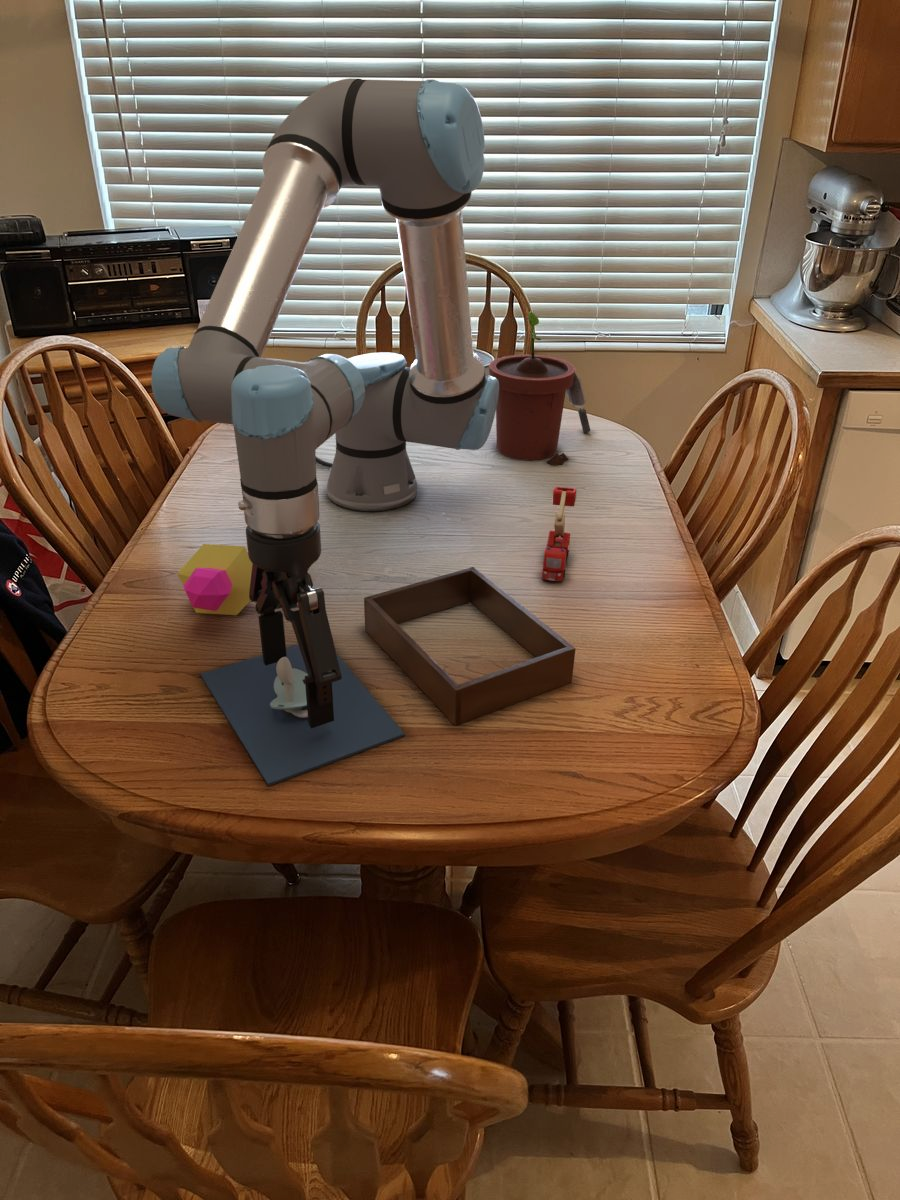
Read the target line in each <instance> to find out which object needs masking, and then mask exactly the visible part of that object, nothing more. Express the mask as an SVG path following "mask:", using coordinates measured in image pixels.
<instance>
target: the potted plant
mask: <svg viewBox="0 0 900 1200" xmlns="http://www.w3.org/2000/svg"><path fill="white" fill-rule="evenodd" d="M527 318H528V323H529V326H530V331H531V332H530V333H531V349H530V350H531V351H530V353H531V354H512V355H505V356H501V357H498V358H495V359H493V360H492V361H490V362H489V365H488V371H489V372H488V373H489V375H491V376H492V377H495V378H496V379H497V380H498V382H499V394H498V402H497V407H496V412H495V426H496V427H495V430H496V431H495V432H496V450H497V451H498V453H499V454H501V455H503V456H504V457H508V458H510V459H516V460H521V461H540V460H545V459H548V458H549V459H548V460H547V461H546V464H550V465H552V466H559V465H560V466H561V465H564V462H566V461H567V460H569V457H568V456H567V455H566V454H565V453H564V452H562V453H560V454H559V453H557V451H558V445H559V440H560V433H561V426H562V420H563V419H562V418H563V413H564V405H565V399H566V396H567V399H568V403H570V404H571V405H572V407H573V408H574V409H578V411H577V413H578V417H579V421H580V424H581V429H582V433H584V434H588V433H590V432H591V426H590V422H589V419H588V413H587V410H586V408H583V406H585V405H586V401H587V399H586V396H585V392H584V389H583V384H582V380H581V378H580V376H579V375H578V373H577V372H576V367H575V365H574V364H573V363H572V362H569V361H567V360H565V359H562V358H559V357H555V356H550V355H542V354H535V340H537V341H542V338H541V337H538V336H537V333H536V330H535V329H534V327H536V326H537V325H539V324H540V319H539V318H538V316H537V315H536V314H535V313H533V311H532V310H529V312H528V314H527ZM550 457H551V458H550Z"/></svg>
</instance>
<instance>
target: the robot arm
mask: <svg viewBox="0 0 900 1200" xmlns="http://www.w3.org/2000/svg"><path fill="white" fill-rule="evenodd" d="M485 142H486V141H485V132H484V125H483V120H482V116H481V112H480V109H479V106H478V103H477V101H476V99H475V98H474V96H473V94H472V93H471V92H470V91H469V90H468V88H466V86H464V85H462V84H459V83H454V82H443V81H439V80H436V79H426V80H404V79H403V80H400V79H399V80H398V79H395V80H394V79H362V78H343V79H339V80H336V81H332V82H330V83H328V84H326V85H324V86H322V87H320V88H319V89H317V90H316V91H314V92H313V93H311V94H310V95H308V96H307V97H305V99H303V100H302V101H301V102H300V103H299V104H298V105H296V107H295V108H294V109H293V110H292V111H291V112H290V113H289V114H288V115H287V116H286V118H285V119H284V120H283V121H282V122H281V123H280V125H279V126H278V128H277V129H276V131H275V132H274V134H273V135H272V137H271V139H270V141H269V143H268V146H267V148H266V150H265V152H264V153H263V157H262V160H261V161H262V162H261V166H262V171H263V175H264V177H263V179H262V182H261V184H260V186H259V188H258V191H257V193H256V195H255V197H254V200H253V201H252V204H251V206H250V209H249V211H248V213H247V216H246V218H245V220H244V222H243V224H242V226H241V229H240V231H239V233H238V236H237V238H236V240H235V243H234V245H233V247H232V249H231V252H230V254H229V255H228V258H227V261H226V263H225V265H224V267H223V269H222V272H221V273H220V276H219V279H218V281H217V283H216V286H215V287H214V290H213V292H212V294H211V297H210V298H209V300H208V303H207V306H206V308H205V309H204V313H203V315H202V317H201V319H200V321H199V323H198V326H197V328H196V330H195V332H194V334H193V336H192V339H191V341H190V342H189V344H188V347H186V346H181V345H180V346H178V347H167V348H165V349H164V351H163V352H160V353H158V355H157V357H156V358H155V360H154V363H153V365H152V370H151V376H150V378H151V379H150V380H151V390H152V396H153V398H154V400H155V402H156V403H157V405H158V407H159V408H160V409H161V410H162V411H163V412H164V413H166V414H167V415H169V416H173V417H177V418H181V419H186V420H190V421H192V422H193V421H194V422H198V423H203V422H207V423H215V424H225V425H231V426H233V431H234V439H235V446H236V454H237V461H238V468H239V469H238V470H239V476H240V479H239V480H240V488H241V494H242V500H240V501H238V503H237V506H238V510H240V511H243V513H244V515H243V516H244V522H245V524H246V528H245V538H246V547H247V552H248V556H249V559H250V561H251V562H252V563H253V564H252V573H251V582H250V590H249V599H250V602H251V603H254V602H255V604H254V609H255V610H254V611H255V612H256V613H257V615H259V616H258V626H259V638H260V645H261V655H263V663H264V664H265V666H266V665H270V664H273V663H276V662H278V661H279V660H280V659H281V658H283V657H287V655H286V648H287V645H286V635H285V634H286V633H285V623H284V622H285V621H284V619H285V620H286V621H287V622H290V623H291V626H292V630H293V633H294V634H295V638H296V642H297V645H299V648H300V651H301V654H302V657H303V660H304V664H305V667H306V670H307V673H308V675H307V676H305V679H303V683H304V684H305V687H306V699H307V712H308V724H309V726H310V727H311V729H312V728H314V727H317V726H320V725H323V724H326V723H329V722H332V721H334V710H333V693H332V682H335V681H338V680H341V678H342V677H341V672H340V668H339V664H338V659H337V655H338V654H337V651H336V647H335V643H334V639H333V634H332V630H331V626H330V623H329V618H328V612H327V609H326V608H327V607H326V599H325V591H324V589H323V588H322V587H317V588H316V587H315V588H314V582H313V579H312V576H311V574H310V573H309V572H308V571H309V570H310V568H311V567H312V566H313V565H314V564H315V563H316V562H317V561H318V560H319V559H320V557H321V555H322V536H321V523H320V522H319V521H320V516H321V512H320V511H321V510H320V495H319V482H318V477H317V464H319V465H321V466H324V467H327V468H330V471H329V474H328V478H327V485H326V487H327V497H328V498H329V500H330V501H331V502H332V503H334V504H336V505H337V506H339V507H342V508H345V509H349V510H353V511H360V512H361V511H362V512H380V511H381V512H382V511H389V510H394V509H397V508H400V507H403V506H405V505H408V504H409V503H411V502H412V501H413V500H414V499H415V498H416V497H417V495H418V483H417V477H416V475H415V471H414V469H413V466H412V463H411V460H410V457H409V454H408V450H407V443H414V444H421V445H426V446H432V447H433V446H434V447H438V448H439V447H440V448H447V449H452V450H456V451H459V450H468V451H470V450H471V451H477V450H479V449H481V448H483V447H484V446H485V444H486V442H487V441H488V439H489V436H490V434H491V432H492V431H491V430H492V427H493V424H494V421H495V417H496V407H497V402H498V394H499V382H498V380H497V379H496V378H495V377H492V376H491V375H490V374H489V375H486V366H485V363H484V360H483V359H482V358H481V357H480V356H479V354H477V353H475V352H474V343H473V331H472V330H473V329H472V320H471V319H472V317H471V308H470V307H471V306H470V295H469V285H468V284H469V283H468V273H467V272H468V271H467V261H466V259H467V258H466V248H465V237H464V223H463V213H462V210H463V209H464V208H466V206H467V205H469V203H470V201H471V199H472V195H473V194H472V193H473V191H476V190H477V188H478V187H479V186H480V184H481V182H482V179H483V176H484V170H485V156H484V155H485V154H484V152H485V151H486V143H485ZM353 185H358V186H365V187H367V186H368V187H377V188H378V189H379V193H380V200H381V204H382V208H383V211H385V212H386V213H387V214H388V215H389V216H391V217H393V219H395V220H396V228H397V235H398V241H399V250H400V255H401V263H402V269H403V276H404V282H405V290H406V297H407V303H408V304H407V305H408V310H409V317H410V325H411V331H412V337H413V345H414V351H415V359H414V361H413V363H411V365H410V367H408V366H407V363H408V361H406V358H405V356H404V355H402V354H401V353H400V354H399V353H397V352H388V351H387V352H386V351H384V352H383V351H381V352H370V353H364V354H360V355H356V356H352V357H349V358H346V357H344V356H342V355H339V354H335V353H325V354H322V355H316V356H314V357H313V356H312V357H311V358H310V359H309V360H307V361H297V360H288V359H280V358H272V357H271V358H269V357H263V354H264V352H265V350H266V347H267V345H268V343H269V340H270V337H271V335H272V333H273V330H274V327H275V325H276V324H277V320H278V318H279V316H280V314H281V311H282V308H283V306H284V303H285V301H286V298H287V296H288V294H289V291H290V289H291V286H292V284H293V281H294V279H295V277H296V274H297V273H298V270H299V267H300V265H301V262H302V260H303V258H304V255H305V252H306V250H307V248H308V245H309V243H310V240H311V238H312V235H313V233H314V230H315V228H316V226H317V224H318V220H319V218H320V216H321V213H322V211H323V209H325V208H327V207H329V206H331V205H332V204H333V203H334V202H335V201H336V199H337V197H338V195H339V192H340V190H341V189H342V188H345V187H346V186H353ZM334 435H335V454H334V457H333V461H332V462H329V461H325V460H323V459H320V458H319V457H318V456H317V455H316V451H317V449H319V447H320V446H322V445H323V444H324V443H325V442H327V440H329V439H330V438H332V437H333V436H334ZM296 608H298V609H297V610H293V609H296ZM278 609H281V610H282V611H281V610H278ZM336 654H337V655H336Z"/></svg>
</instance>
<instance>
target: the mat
mask: <svg viewBox="0 0 900 1200" xmlns="http://www.w3.org/2000/svg"><path fill="white" fill-rule="evenodd" d="M286 655H287V658H288V660H289V661H290V664H291V666H292V668H295V669H299V670H302V671H303V672H305V673H307V670H306V667H305V664H304V660H303V657H302V654H301V651H300V648H299V645H298V644H295V645H292V646H289V647H286ZM336 655H337V659H338V664H339V668H340V672H341V677H342V678H341V680H338V681H335V682H332V693H333V710H334V721H332V722H329V723H326V724H323V725H320V726H317V727H314V728H312V729H311V727H310V726H309V724H308V717H306V718H301V717H297V716H295V715H293V714H292V713H290V712H286V711H285V710H279V709H273V708H271V706H270V703H271V702H272V700H274V699H275V698H277V695H276V693H275V691H274V681H275V679H276V677H277V676H278V675H277V671H276V666H277V663H278V662H276V663H273V664H270V665H266V666H265V664H264V663H263V655H262V654H260V655H257V656H254V657H251V658H248V659H245V660H244V659H243V660H241V661H238V662H235V663H231V664H228V665H224V666H221V667H218V668H214V669H211V670H208V671H204V672H202V673H200V675H199V676H200V678H201V679H202V681H203V682H204V684H205V686H206V688H207V690H208V691H209V692H210V693H211V696H212V697H213V699H214V701H215V702H216V704H217V705H218V707H219V709H220V711H221V712H222V714H223V715H224V717H225V719H226V720H227V722H228V723H229V725H230V726H231V728H232V730H233V731H234V733H235V735H236V736H237V738H238V739H239V742H240V743H241V745H242V746H243V748H244V749H245V751H246V753H247V754H248V756H249V757H250V759H251V761H252V763H253V764H254V766H255V767H256V769H257V770H258V772H259V773H260V775H261V777H262V779H263V780H264V782H265V784H266V785H267V786H268V787H270V786H274V785H275V784H279V783H281V782H284V781H287V780H289V779H292V778H296V777H298V776H301V775H303V774H306V773H309V772H311V771H314V770H317V769H319V768H322V767H325V766H327V765H330V764H333V763H335V762H338V761H340V760H343V759H344V760H345V759H346V758H350V757H351V756H355V755H357V754H360V753H363V752H365V751H368V750H371V749H373V748H376V747H379V746H381V745H384V744H388V743H389V742H392V741H395V740H398V739H401V738H404V737H405V736H406V733H405V732H404V731H403V729H402V728H401V727H400V726H399V725H398V724H397V722H396V721H395V720H394V719H393V718H392V717H391V715H390V714H389V713H388V712H387V711H386V709H385V708H384V707H383V706H382V705H381V703H380V702H379V701H378V700H377V699H376V698H375V697H374V696H373V694H372V693H371V692H370V691H369V689H368V688H367V687H366V686H365V685H364V684H363V682H362V681H360V679H359V678H358V676H356V674H354V672H353V671H352V670H351V668H349V666H348V665H347V664H346V663H345V662H344V660H343V659H342V658H341V657H340V656H339V654H338V653H336ZM307 674H308V673H307ZM282 685H283V686H284V683H283V682H282ZM300 710H307V706H305V707H302V708H301V709H300Z"/></svg>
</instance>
